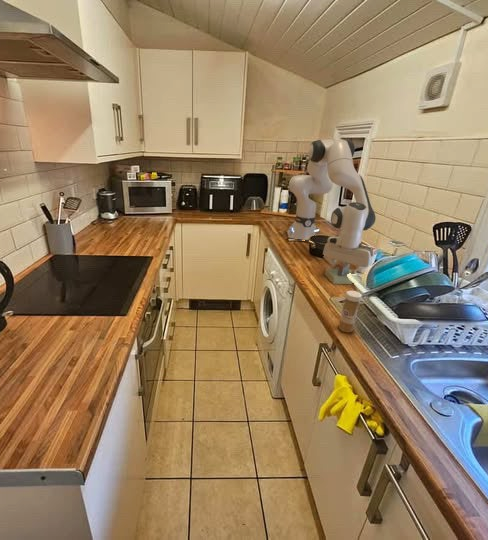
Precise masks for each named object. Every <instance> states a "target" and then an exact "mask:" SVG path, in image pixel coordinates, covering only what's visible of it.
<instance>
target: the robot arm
mask: <svg viewBox="0 0 488 540" xmlns="http://www.w3.org/2000/svg"><path fill="white" fill-rule="evenodd" d="M355 150H356V146H355V143H354V142H353V141H352V140H349V139H336V138H332V139H317V140H313V141H312V142H311V143H310V145H309V147H308V152H307V153H308V159H309V161H308V164H307V167H306V170H307V173H308V174H307V175H306V174H299V175H298V174H297V175H294V176H292V177H291V178H290V180H289V182H288V189H289V191H290V192H291V193H292V194H294V197H295V198H296V201H297V211H296V216H295V218H294V221H293V222H291V225H289V226H288V230H287V231H286V235H287V238H289V239H294V240H297V239H309V238H310V237H311V236H314V235H315V236H316V232H319V231H320V229H317V225H316V224H315V223H316V213H317V203H316V202H315V201H314V200H312V199H310V197H309V195H325V194H329V193H330V192H331V191H332V188H333V185H337V186H339V187H342V188H344V189H347V190H349V191H350V192H351V193H352V194H353V196H354V200H355V201H352V202H348V203H347V204H346V206H340V207H336V208H335V209H334V210H333V211H332V213H331V215H330V223H331V225H332V226H333V227H334V228H335V229H339V230H340V232H339V234H334V235H331V236H329V237H328V238H327V242H326V243H325V245H324V247H323V251H322V255H324V257H328V258H331V259H330V261H331V264H330V265H331V269H337V265H338V264H335V262H334V260H339V261H343V262H346V263H350V265H355V268H352V269H351V270H352V272H351V273H352V274H357V270H358V269H359V268H360V266H361V267H365V268H367V267H369V266H370V265H371V261H372V256H373V254H374V251H375V248H373V247H372V245H366V244H363V243H362V240H363V231H368V230H369V229H370V228H372V227H373V226H374V225H375V223H376V217H377V216H376V213H375V211H374V208H373V207H372V204H371V201H370V197H369V195H368V191H367V187H366V184H365V181H364V178H363V177H362V175H361V174H359V173H358V172H357V170H356V168H355V166H354V161H353V158H354V155H355ZM356 267H357V268H356Z"/></svg>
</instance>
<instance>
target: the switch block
mask: <svg viewBox="0 0 488 540" xmlns="http://www.w3.org/2000/svg"><path fill="white" fill-rule="evenodd" d="M322 258H323V259H324V260H325V261H326V262H327V263H328V264H329V265H332V264H331V261H330V259H331V258H328V257H324V256H322ZM334 262H335V264H337V265H342V264H344V263H345V262H343V261H339V260H334Z"/></svg>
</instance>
